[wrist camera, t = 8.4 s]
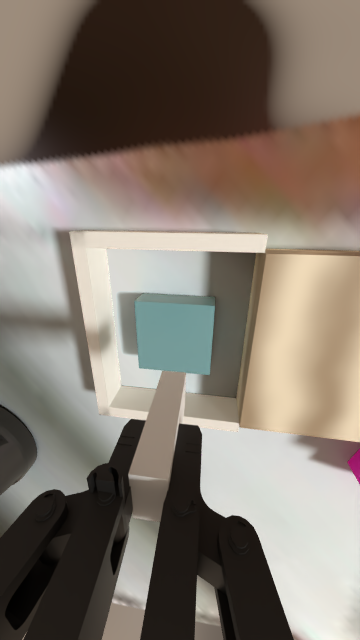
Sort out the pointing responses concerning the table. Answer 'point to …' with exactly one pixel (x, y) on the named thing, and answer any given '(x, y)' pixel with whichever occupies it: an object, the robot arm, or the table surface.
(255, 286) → the plate
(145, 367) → the teal rectangular block
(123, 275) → the table surface
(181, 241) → the box
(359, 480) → the magenta notched bracket
